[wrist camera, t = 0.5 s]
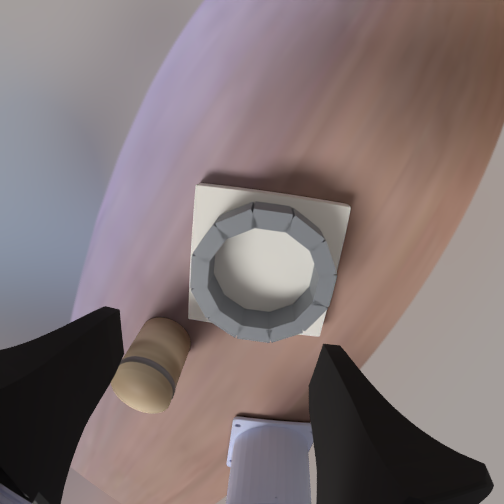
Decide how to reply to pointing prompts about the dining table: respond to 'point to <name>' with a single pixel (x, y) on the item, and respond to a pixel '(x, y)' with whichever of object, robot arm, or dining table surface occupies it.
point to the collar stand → (263, 261)
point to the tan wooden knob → (152, 366)
